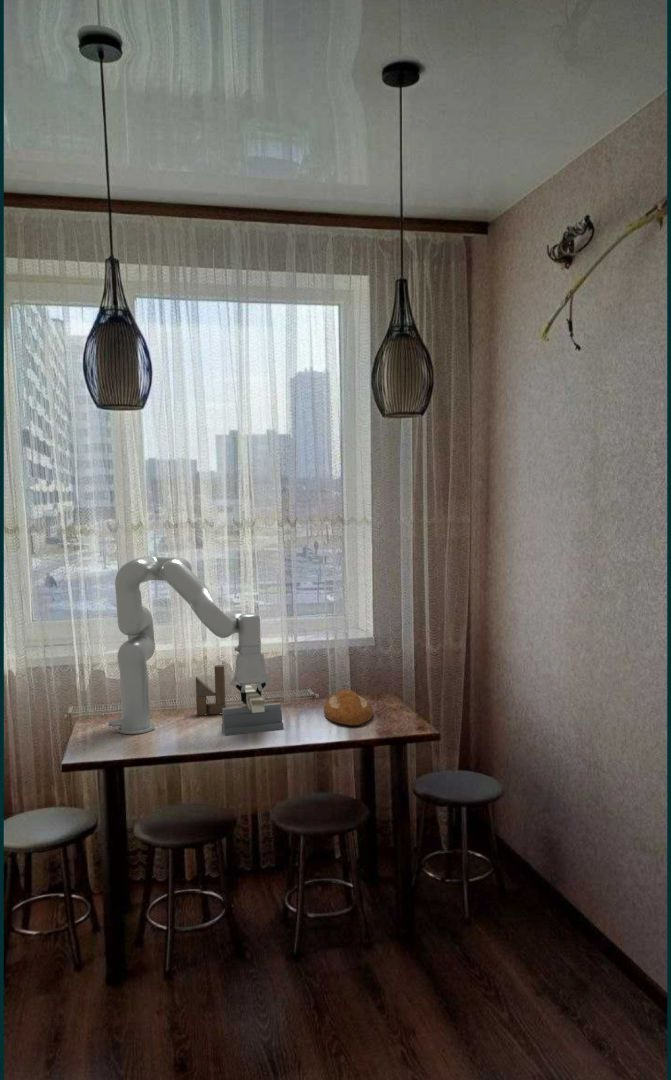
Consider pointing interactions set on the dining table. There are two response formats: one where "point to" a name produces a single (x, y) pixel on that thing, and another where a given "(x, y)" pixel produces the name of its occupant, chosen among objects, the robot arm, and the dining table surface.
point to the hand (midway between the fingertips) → (251, 702)
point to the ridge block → (251, 719)
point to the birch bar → (253, 700)
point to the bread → (348, 708)
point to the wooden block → (211, 694)
